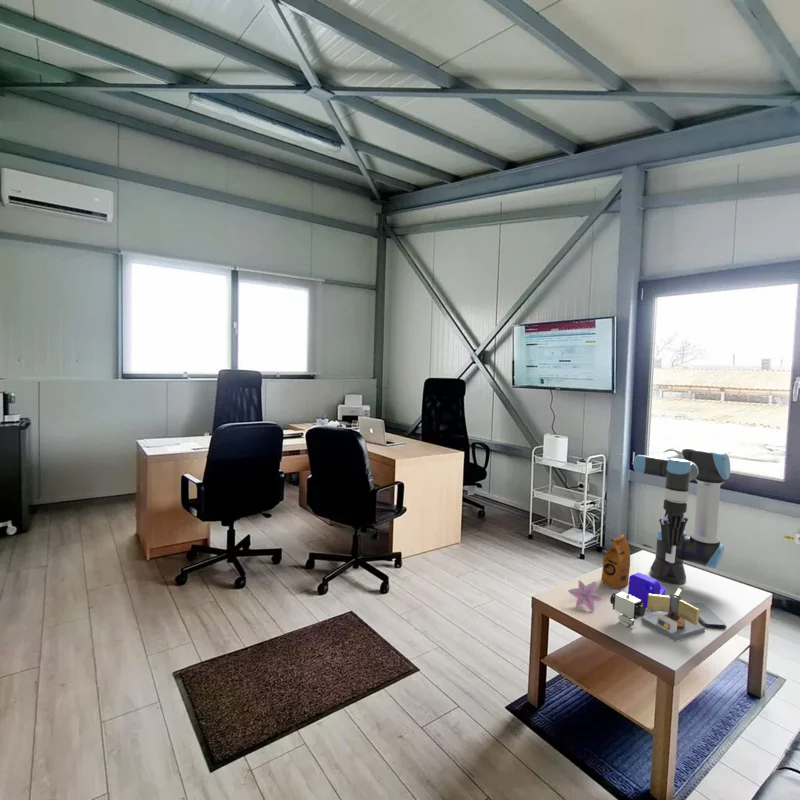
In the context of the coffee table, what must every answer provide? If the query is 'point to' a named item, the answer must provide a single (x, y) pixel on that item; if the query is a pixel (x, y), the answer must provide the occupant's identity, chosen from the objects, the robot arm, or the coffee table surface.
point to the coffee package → (617, 564)
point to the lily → (585, 595)
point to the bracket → (644, 587)
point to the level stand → (671, 626)
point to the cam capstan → (674, 608)
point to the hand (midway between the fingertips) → (669, 561)
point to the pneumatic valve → (627, 607)
